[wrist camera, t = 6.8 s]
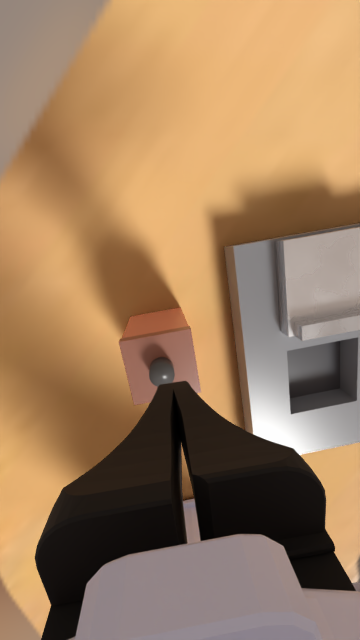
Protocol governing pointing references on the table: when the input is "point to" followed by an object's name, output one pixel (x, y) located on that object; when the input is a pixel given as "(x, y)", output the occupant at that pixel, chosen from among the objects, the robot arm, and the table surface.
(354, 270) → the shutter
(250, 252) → the socket plate
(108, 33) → the table surface
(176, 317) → the plug
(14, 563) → the table surface
